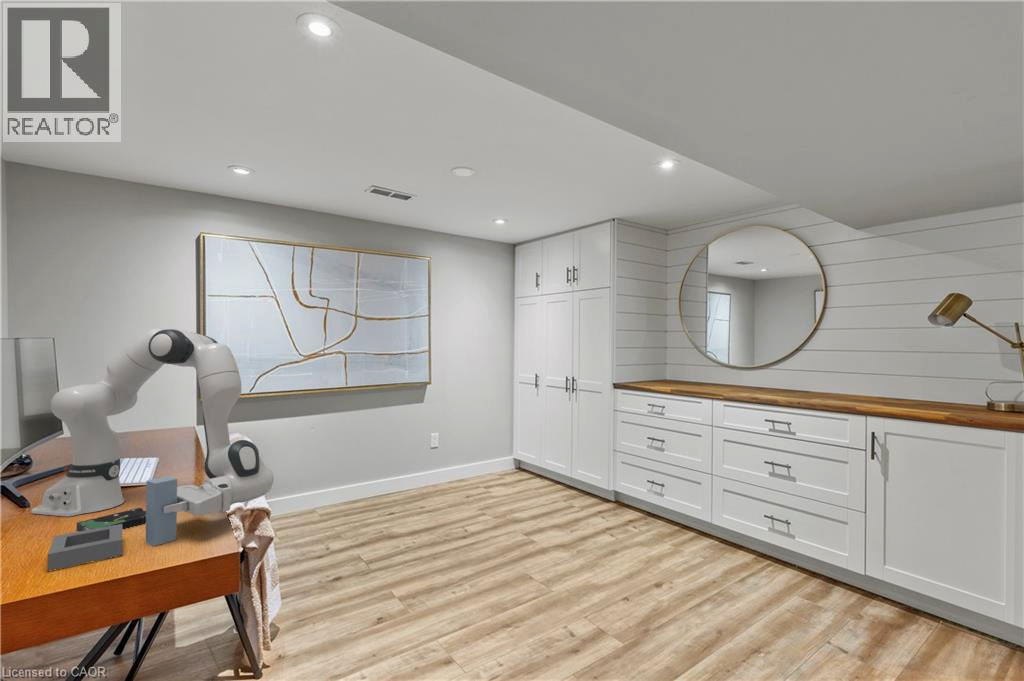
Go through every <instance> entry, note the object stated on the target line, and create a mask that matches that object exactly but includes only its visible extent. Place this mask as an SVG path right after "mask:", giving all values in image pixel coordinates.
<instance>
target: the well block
mask: <svg viewBox="0 0 1024 681" xmlns="http://www.w3.org/2000/svg"><path fill="white" fill-rule="evenodd" d="M123 539H124V538H123V530H122V524H119V525H113V526H107V527H102V528H96V529H91V530H85V531H80V532H78V531H75V532H69V533H64V534H58V535H54V536H53V538H52V541H51V544H50V547H49V550H48V552H47V571H50V570H54V569H60V568H64V569H67V568H66V567H69V568H72V567H71V566H74V567H76V566H75V565H78V564H83V563H86V562H91V561H97V560H101V561H103V560H102V559H106V560H108V559H107V558H111V557H115V556H120V555H122V556H123ZM120 557H121V556H120ZM115 558H116V557H115ZM111 559H112V558H111ZM97 562H98V561H97ZM83 565H84V564H83ZM78 566H79V565H78ZM60 570H61V569H60ZM47 571H46V572H47ZM50 572H51V571H50Z"/></svg>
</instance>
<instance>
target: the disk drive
mask: <svg viewBox="0 0 1024 681" xmlns="http://www.w3.org/2000/svg"><path fill="white" fill-rule="evenodd" d="M145 523H146V510H144V508H141V507H138V508H133V509H128V510H124V511H119V512H115V513H111V514H107V515H104V516H99V517H95V518H89V519H86V520H83V521H77V522H76V532H78V531H79V532H80V531H85V530H91V529H96V528H102V527H107V526H113V525H119V524H122V529H124V530H127V529H126V528H128V529H131V528H130V527H132V528H135V527H138V525H139V526H142V524H143V525H146V524H145ZM134 526H135V527H134Z"/></svg>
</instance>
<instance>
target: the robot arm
mask: <svg viewBox="0 0 1024 681" xmlns="http://www.w3.org/2000/svg"><path fill="white" fill-rule="evenodd" d="M166 364H167V365H172V366H176V367H177V366H178V367H190V368H194V369H195V371H196V375H197V380H198V384H199V390H200V394H201V395H200V397H201V402H202V404H201V405H202V418H203V419H202V420H203V429H204V435H205V441H206V443H205V445H206V457H205V461H204V466H203V467H204V472H205V475H206V476H207V477H208V478H207V479H205V480H204V481H203V482H202V484H201V485H198V486H197V485H196V484H187V485H186V484H185V485H180V486H177V503H176V504H168V505H164V506H162V512H164V513H170V512H178V513H179V512H186V513H188V514H191V515H193V516H205V515H210V514H216V513H219V512H222V513H225V512H229V511H231V506H232V505H234V504H236V503H237V504H238V503H246V502H249V501H252V500H255V499H258V498H261V497H263V496H265V495H267V494H268V493H269V492H270V490H271V489H272V487H273V484H274V473H273V471H272V470H271V469H270V468H269V467H268V466H266V465H265V463H264V462H263V461H262V459H261V457H260V452H259V449H258V447H257V446H256V444H254V443H253V442H252V441H250V440H246V439H241V440H236V441H234V442H232V443H231V440H230V432H229V427H228V426H229V424H228V422H229V421H228V420H229V416H230V412H231V411H232V409H233V407H234V406H235V405H236V403H237V401H238V400H239V399H240V397H241V395H242V379H241V375H240V370H239V367H238V365H237V361H236V359H235V356H234V355H233V353H232V351H231V349H230V347H229V346H227V345H226V344H223V343H220V342H218V341H217V340H216V339H214V338H212V337H211V336H208V335H203V334H199V333H197V332H192V331H184V330H178V329H175V328H174V329H173V328H172V329H171V328H169V329H167V328H166V329H163V328H158V327H157V328H152V329H149V330H147V331H145V332H144V333H142V334H140V335H139V336H138V337H137V338H135V339H134V340H132V341H131V342H130V343H128V344H127V346H126V347H125V348H124V349H122V350H121V351H120V352H118V353H117V355H116V356H115V357H114V358H112V360H111V361H109V362H108V364H107V366H106V372H107V374H106V375H105V376H104V378H103V379H101V380H100V381H98V382H94V383H87V384H76V385H72V386H69V387H66V388H64V389H61V390H59V391H57V392H56V393H55V394H54V395H53V396H52V398H51V401H50V410H51V412H52V414H53V415H54V416H55V417H56V418H58V419H59V420H61V421H62V422H63V423H64V424H65V426H66V427H67V430H68V431H69V434H70V437H71V446H72V447H71V448H72V455H71V456H72V457H71V461H72V462H71V464H69V465H67V466H62V468H63V469H62V471H63V472H64V471H66V474H65V476H64V477H63V478H61V479H60V480H58V481H57V482H56V483H55V484H53V485H51V486H50V487H49V488H47V489H46V490H45V491H44V494H43V496H42V500H41V504H40V505H37V506H35V507H33V508H31V510H30V514H35V515H36V514H37V515H45V516H46V515H48V516H58V517H65V518H67V517H68V518H69V517H74V516H79V515H82V514H89V513H95V512H100V511H105V510H108V509H112V508H115V507H118V506H120V505H121V504H123V503H124V502H125V499H124V496H123V493H122V488H121V480H120V471H121V458H120V457H119V453H120V452H119V451H120V446H119V444H120V435H119V433H117V432H116V431H114V430H113V429H112V428H111V426H110V424H109V422H108V417H110V416H116V415H119V414H123V413H124V412H126V411H129V410H130V409H132V408H133V407H134V406H135V405H136V403H137V402H138V392H139V391H140V389H141V388H142V387H143V385H144V384H145V383H146V382H147V381H148V380H150V378H151V377H152V376H153V375H154V374H156V373H157V371H159V370H160V369H161V368H162V367H163V366H164V365H166Z"/></svg>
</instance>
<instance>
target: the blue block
mask: <svg viewBox="0 0 1024 681" xmlns="http://www.w3.org/2000/svg"><path fill="white" fill-rule="evenodd" d="M177 487H178V479H177V478H176V477H172V476H170V475H167V476H162V477H158V478H157V477H156V478H153V479H148V480H146V490H145V491H146V494H145V495H146V496H145V498H146V500H145V502H146V503H145V508H146V509H145V511H146V524H145V543H146V542H147V543H146V544H148V543H149V544H148V545H150V546H152V547H158V546H161V545H164V544H167V542H168V543H171V542H174V541H176V540H177V522H178V521H177V518H178V517H177V514H178V513H177V512H170V513H164V512H162V506H164V505H168V504H176V503H177ZM160 544H161V545H160ZM157 545H158V546H157Z"/></svg>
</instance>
